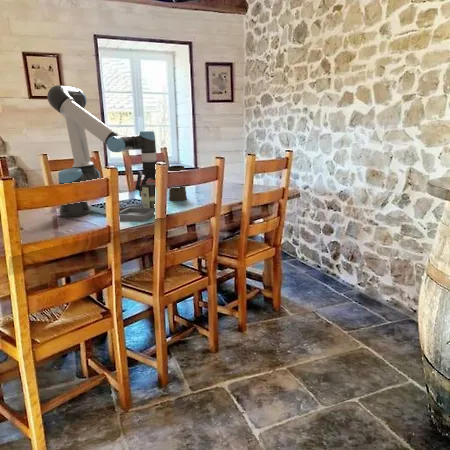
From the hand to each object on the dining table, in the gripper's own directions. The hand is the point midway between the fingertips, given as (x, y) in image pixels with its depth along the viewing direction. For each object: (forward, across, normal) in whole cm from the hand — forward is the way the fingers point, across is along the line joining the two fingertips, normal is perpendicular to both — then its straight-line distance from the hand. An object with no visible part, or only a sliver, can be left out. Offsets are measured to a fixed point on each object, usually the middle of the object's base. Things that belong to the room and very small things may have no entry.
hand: (152, 202), depth 209 cm
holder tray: (+4, +2, +16) cm, 17 cm away
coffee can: (+4, 0, 0) cm, 4 cm away
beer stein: (+4, -3, -30) cm, 31 cm away
